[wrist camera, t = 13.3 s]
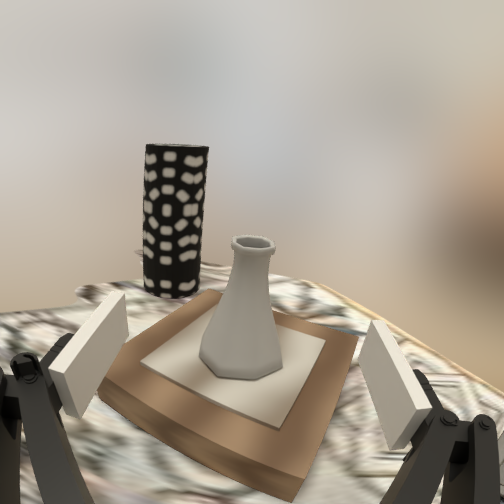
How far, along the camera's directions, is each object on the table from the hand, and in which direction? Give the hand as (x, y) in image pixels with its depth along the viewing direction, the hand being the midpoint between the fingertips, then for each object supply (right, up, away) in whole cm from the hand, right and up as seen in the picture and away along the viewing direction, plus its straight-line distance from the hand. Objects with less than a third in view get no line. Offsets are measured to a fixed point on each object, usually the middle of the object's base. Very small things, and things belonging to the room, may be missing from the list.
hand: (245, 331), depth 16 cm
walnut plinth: (-1, -9, +12) cm, 14 cm away
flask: (-1, -5, +10) cm, 11 cm away
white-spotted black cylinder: (-11, -1, +30) cm, 32 cm away
